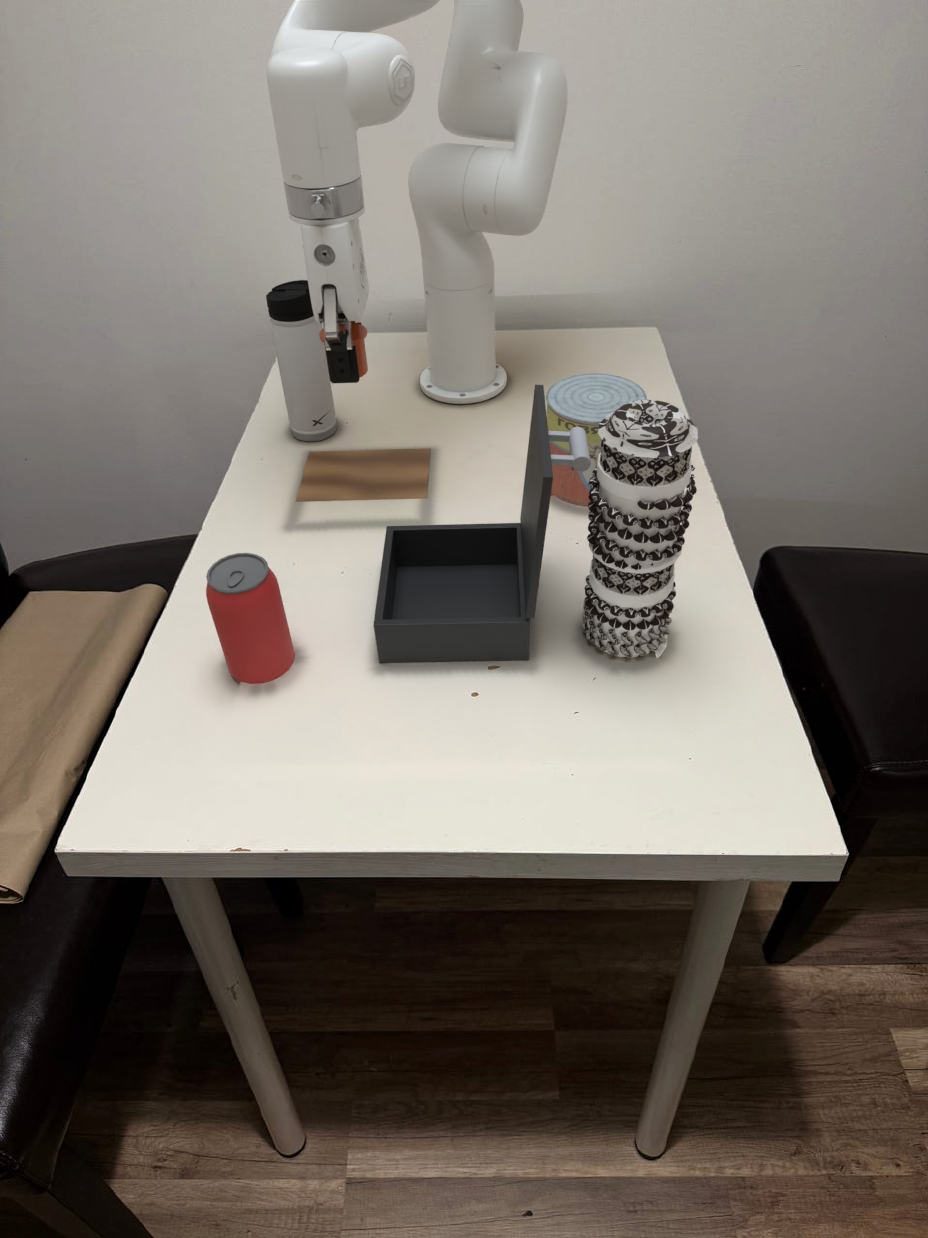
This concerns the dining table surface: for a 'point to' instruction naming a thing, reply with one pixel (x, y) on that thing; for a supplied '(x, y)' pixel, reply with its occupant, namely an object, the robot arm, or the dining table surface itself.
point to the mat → (365, 475)
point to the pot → (355, 344)
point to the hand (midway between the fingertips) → (348, 367)
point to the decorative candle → (637, 526)
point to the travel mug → (301, 361)
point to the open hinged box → (452, 594)
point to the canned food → (583, 424)
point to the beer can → (249, 618)
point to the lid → (543, 489)
